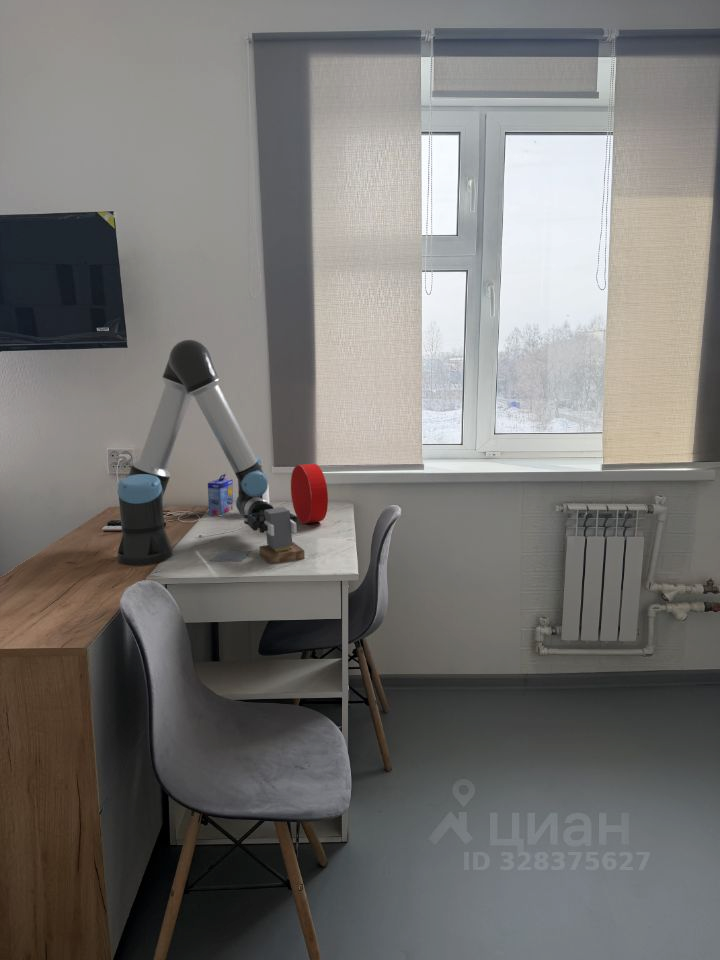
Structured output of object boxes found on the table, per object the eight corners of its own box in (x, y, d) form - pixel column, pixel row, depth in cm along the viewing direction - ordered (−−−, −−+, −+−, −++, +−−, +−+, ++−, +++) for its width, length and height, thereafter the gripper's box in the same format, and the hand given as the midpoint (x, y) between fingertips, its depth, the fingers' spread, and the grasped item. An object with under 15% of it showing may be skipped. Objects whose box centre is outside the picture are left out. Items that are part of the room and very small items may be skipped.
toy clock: (328, 527, 222) (327, 467, 218) (312, 529, 219) (310, 469, 216) (307, 514, 240) (305, 459, 236) (291, 516, 237) (289, 461, 233)
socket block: (270, 565, 182) (269, 555, 181) (259, 556, 191) (259, 546, 190) (304, 560, 186) (304, 550, 185) (292, 551, 195) (292, 541, 194)
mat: (210, 562, 186) (209, 560, 186) (219, 553, 195) (219, 550, 195) (241, 563, 185) (241, 560, 185) (249, 553, 194) (249, 550, 194)
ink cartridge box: (222, 516, 240) (219, 477, 237) (208, 515, 242) (205, 476, 239) (234, 510, 249) (232, 472, 247) (221, 509, 251) (219, 471, 248)
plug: (274, 557, 184) (270, 514, 182) (268, 552, 189) (264, 510, 187) (293, 553, 187) (289, 510, 184) (286, 548, 192) (283, 506, 189)
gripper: (289, 520, 207) (316, 538, 186) (230, 527, 199) (251, 547, 179) (288, 497, 206) (315, 512, 185) (228, 503, 198) (249, 520, 177)
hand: (283, 529), depth 182 cm, fingers closed on plug, 6 cm apart
